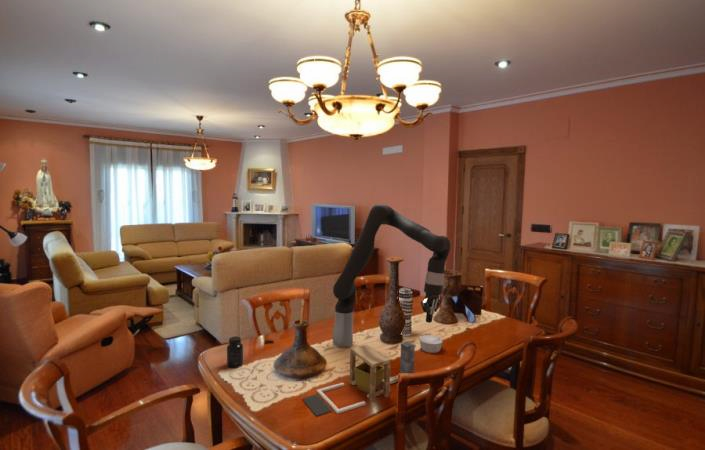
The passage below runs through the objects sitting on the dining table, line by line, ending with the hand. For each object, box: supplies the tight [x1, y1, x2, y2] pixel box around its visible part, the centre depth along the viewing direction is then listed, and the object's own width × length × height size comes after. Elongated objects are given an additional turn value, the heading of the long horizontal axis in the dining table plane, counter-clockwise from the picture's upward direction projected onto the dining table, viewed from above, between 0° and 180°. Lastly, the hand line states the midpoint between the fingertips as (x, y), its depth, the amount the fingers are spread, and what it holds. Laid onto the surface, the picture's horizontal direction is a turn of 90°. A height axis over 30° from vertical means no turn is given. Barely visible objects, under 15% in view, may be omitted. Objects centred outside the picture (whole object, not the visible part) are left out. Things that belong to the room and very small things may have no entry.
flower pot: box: [354, 362, 384, 394], centre depth 145 cm, size 9×9×9 cm
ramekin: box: [419, 334, 443, 354], centre depth 185 cm, size 11×11×5 cm
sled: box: [352, 341, 416, 399], centre depth 150 cm, size 25×12×14 cm, turn 121°
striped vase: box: [399, 287, 414, 337], centre depth 204 cm, size 9×9×25 cm
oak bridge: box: [349, 344, 391, 403], centre depth 145 cm, size 8×16×14 cm, turn 31°
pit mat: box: [301, 393, 333, 417], centre depth 134 cm, size 6×12×1 cm, turn 31°
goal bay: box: [316, 382, 366, 415], centre depth 139 cm, size 12×16×1 cm
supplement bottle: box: [226, 336, 244, 369], centre depth 163 cm, size 7×7×12 cm
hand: (428, 322), depth 160 cm, fingers closed
